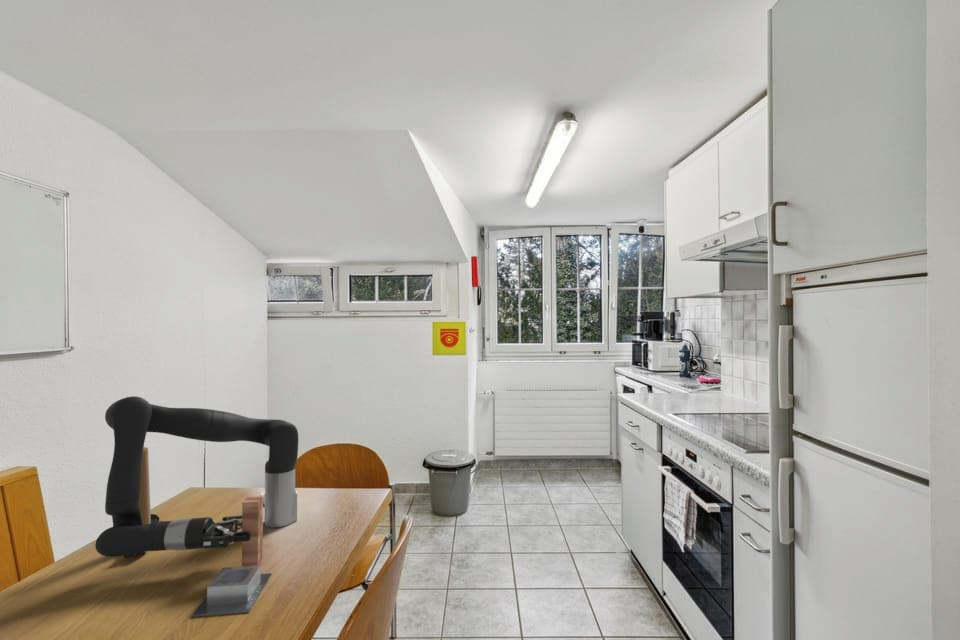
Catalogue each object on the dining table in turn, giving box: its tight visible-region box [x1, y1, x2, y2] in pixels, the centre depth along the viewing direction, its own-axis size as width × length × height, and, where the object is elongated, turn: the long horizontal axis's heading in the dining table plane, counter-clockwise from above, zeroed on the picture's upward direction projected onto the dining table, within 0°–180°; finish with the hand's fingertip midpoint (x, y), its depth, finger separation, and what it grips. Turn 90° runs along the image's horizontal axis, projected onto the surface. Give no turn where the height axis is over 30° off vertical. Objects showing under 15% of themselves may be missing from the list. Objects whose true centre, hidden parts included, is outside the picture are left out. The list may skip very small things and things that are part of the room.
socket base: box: [191, 564, 272, 619], centre depth 110 cm, size 16×12×5 cm
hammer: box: [123, 446, 160, 558], centre depth 133 cm, size 20×5×30 cm, turn 24°
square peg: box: [241, 495, 264, 567], centre depth 123 cm, size 4×4×18 cm
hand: (255, 528), depth 123 cm, fingers open, 8 cm apart
